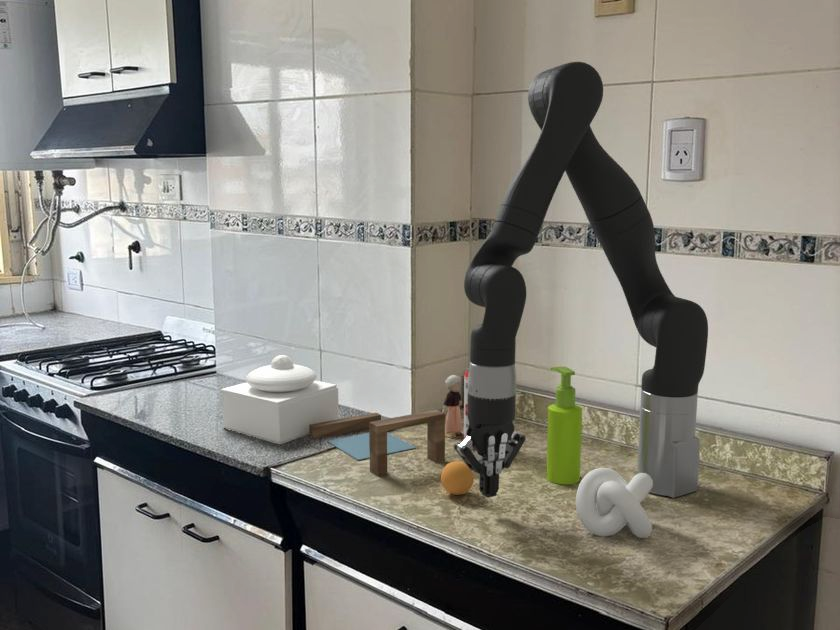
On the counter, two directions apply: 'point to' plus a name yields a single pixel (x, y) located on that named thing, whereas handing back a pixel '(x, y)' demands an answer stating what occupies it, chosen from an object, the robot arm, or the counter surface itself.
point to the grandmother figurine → (453, 407)
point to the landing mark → (360, 445)
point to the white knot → (613, 503)
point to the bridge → (381, 427)
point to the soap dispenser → (564, 433)
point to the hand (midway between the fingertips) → (489, 495)
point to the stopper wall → (342, 425)
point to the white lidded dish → (279, 402)
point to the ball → (457, 478)
